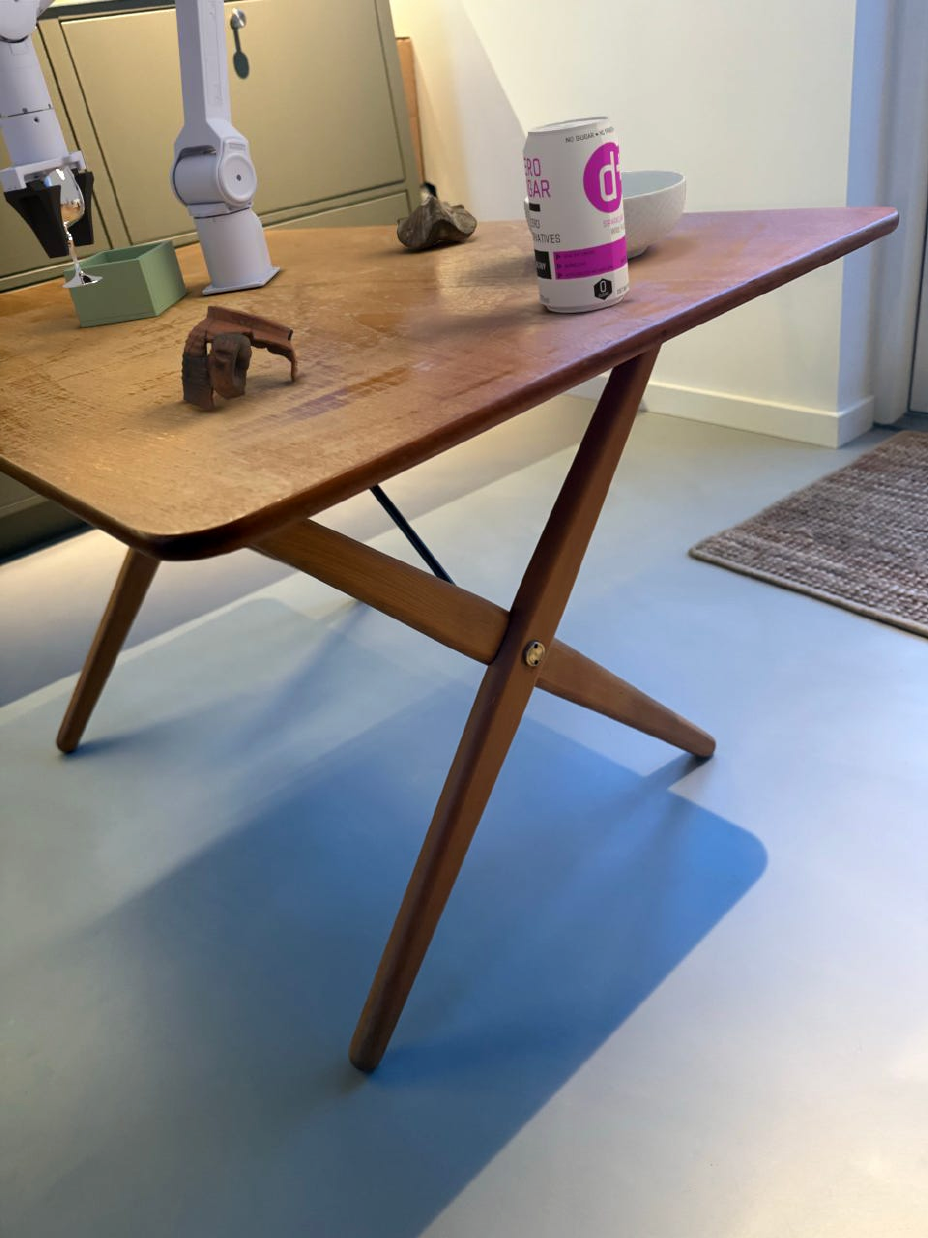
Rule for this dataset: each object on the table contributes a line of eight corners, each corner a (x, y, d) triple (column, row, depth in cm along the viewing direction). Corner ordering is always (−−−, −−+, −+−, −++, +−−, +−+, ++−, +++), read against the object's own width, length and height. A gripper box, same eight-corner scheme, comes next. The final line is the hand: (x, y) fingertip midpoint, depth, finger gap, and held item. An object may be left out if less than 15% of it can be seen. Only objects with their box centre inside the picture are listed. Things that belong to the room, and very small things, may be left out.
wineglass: (90, 286, 109) (50, 166, 103) (46, 291, 110) (4, 174, 104) (118, 273, 113) (82, 158, 107) (75, 278, 115) (37, 165, 109)
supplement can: (647, 291, 93) (635, 111, 85) (593, 317, 88) (576, 129, 81) (577, 288, 98) (560, 119, 91) (523, 312, 93) (500, 135, 86)
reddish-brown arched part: (179, 397, 89) (199, 303, 87) (285, 425, 91) (306, 333, 89) (162, 400, 77) (184, 291, 76) (284, 432, 79) (308, 326, 78)
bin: (117, 303, 131) (100, 251, 127) (187, 293, 129) (172, 239, 126) (81, 327, 121) (62, 271, 118) (156, 316, 119) (139, 259, 116)
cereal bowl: (501, 276, 108) (492, 206, 104) (577, 239, 119) (571, 175, 116) (646, 274, 99) (641, 197, 95) (713, 234, 110) (711, 164, 106)
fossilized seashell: (476, 212, 133) (405, 237, 135) (461, 171, 127) (387, 197, 129) (484, 251, 129) (411, 276, 131) (468, 210, 124) (392, 237, 126)
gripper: (25, 113, 96) (75, 260, 103) (92, 101, 109) (132, 232, 115) (-40, 125, 98) (13, 269, 104) (33, 112, 110) (76, 241, 117)
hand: (72, 250), depth 110 cm, fingers closed on wineglass, 5 cm apart
